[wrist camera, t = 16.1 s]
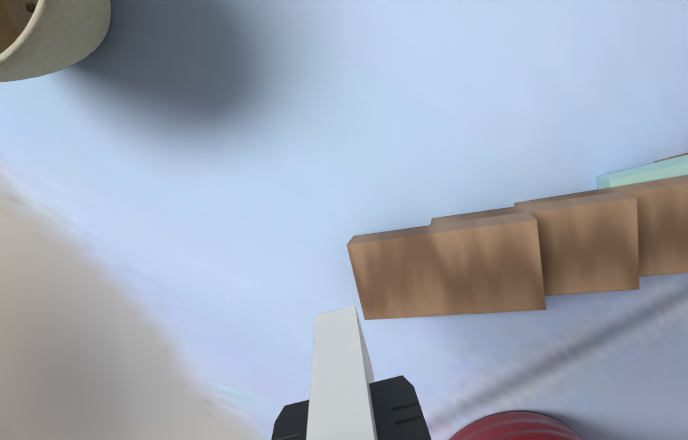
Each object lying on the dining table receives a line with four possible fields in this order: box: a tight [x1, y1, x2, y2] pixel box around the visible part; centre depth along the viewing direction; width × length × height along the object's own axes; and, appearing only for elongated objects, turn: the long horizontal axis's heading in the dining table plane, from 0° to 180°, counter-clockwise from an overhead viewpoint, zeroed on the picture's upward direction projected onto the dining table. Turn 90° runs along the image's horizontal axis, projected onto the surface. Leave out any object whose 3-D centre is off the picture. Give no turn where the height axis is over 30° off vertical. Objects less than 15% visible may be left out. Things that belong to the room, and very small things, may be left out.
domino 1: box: [347, 212, 546, 320], centre depth 20 cm, size 5×2×10 cm
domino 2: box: [431, 192, 639, 295], centre depth 20 cm, size 5×2×10 cm
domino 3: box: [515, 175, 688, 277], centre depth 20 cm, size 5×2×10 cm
